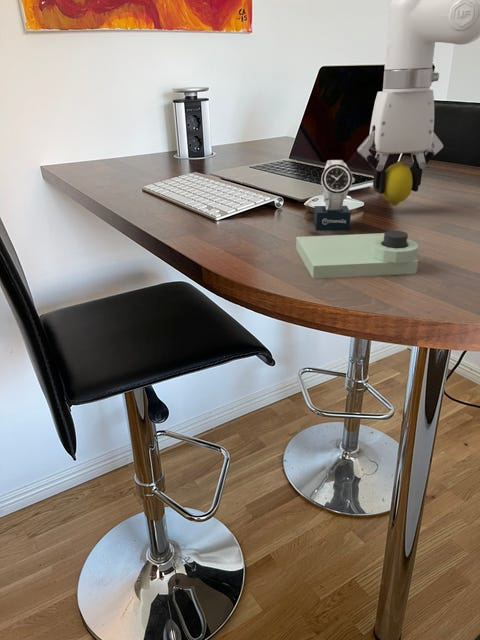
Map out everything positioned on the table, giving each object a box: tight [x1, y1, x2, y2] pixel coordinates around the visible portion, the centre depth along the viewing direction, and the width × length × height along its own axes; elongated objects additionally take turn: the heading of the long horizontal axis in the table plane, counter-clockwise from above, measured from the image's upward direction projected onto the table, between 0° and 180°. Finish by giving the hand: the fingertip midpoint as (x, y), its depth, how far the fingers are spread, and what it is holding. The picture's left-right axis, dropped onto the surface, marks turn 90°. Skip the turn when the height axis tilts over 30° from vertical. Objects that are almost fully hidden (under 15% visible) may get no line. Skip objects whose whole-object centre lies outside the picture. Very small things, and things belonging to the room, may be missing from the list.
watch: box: [313, 159, 356, 232], centre depth 83 cm, size 6×8×11 cm
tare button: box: [383, 230, 409, 248], centre depth 66 cm, size 3×3×2 cm
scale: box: [295, 232, 419, 280], centre depth 70 cm, size 14×12×4 cm
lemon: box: [381, 161, 413, 207], centre depth 91 cm, size 6×6×8 cm
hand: (396, 190), depth 91 cm, fingers closed on lemon, 5 cm apart
